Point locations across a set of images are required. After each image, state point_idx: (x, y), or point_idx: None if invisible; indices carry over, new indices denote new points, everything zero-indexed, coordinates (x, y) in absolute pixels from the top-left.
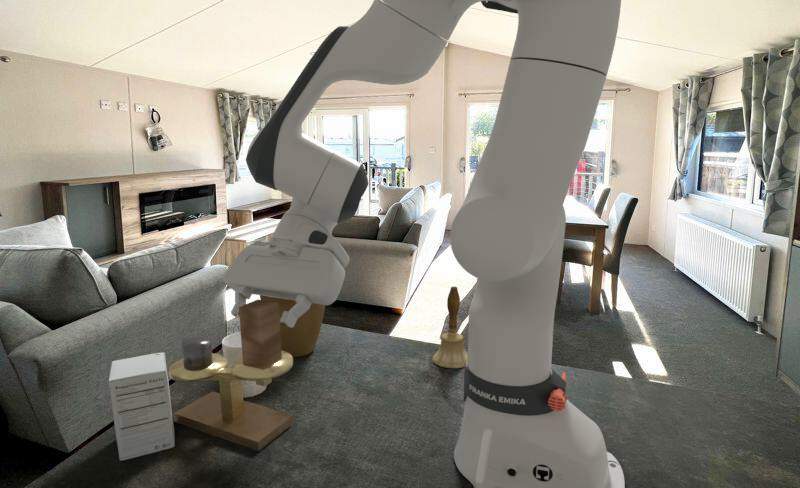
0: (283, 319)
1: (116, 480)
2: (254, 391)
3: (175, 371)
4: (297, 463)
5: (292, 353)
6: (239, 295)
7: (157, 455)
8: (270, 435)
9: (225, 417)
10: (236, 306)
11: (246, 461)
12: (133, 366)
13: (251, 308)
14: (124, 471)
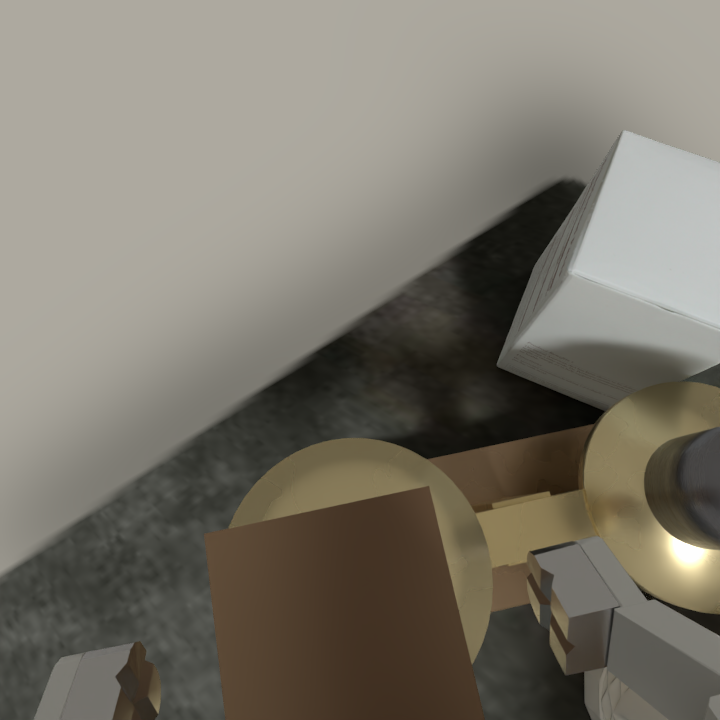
0: (98, 660)
1: (471, 241)
2: (589, 677)
3: (699, 402)
4: (190, 517)
5: None
6: (705, 674)
7: (493, 327)
8: None
9: (490, 500)
10: (599, 579)
11: (302, 443)
12: (684, 211)
13: (310, 527)
14: (489, 261)
